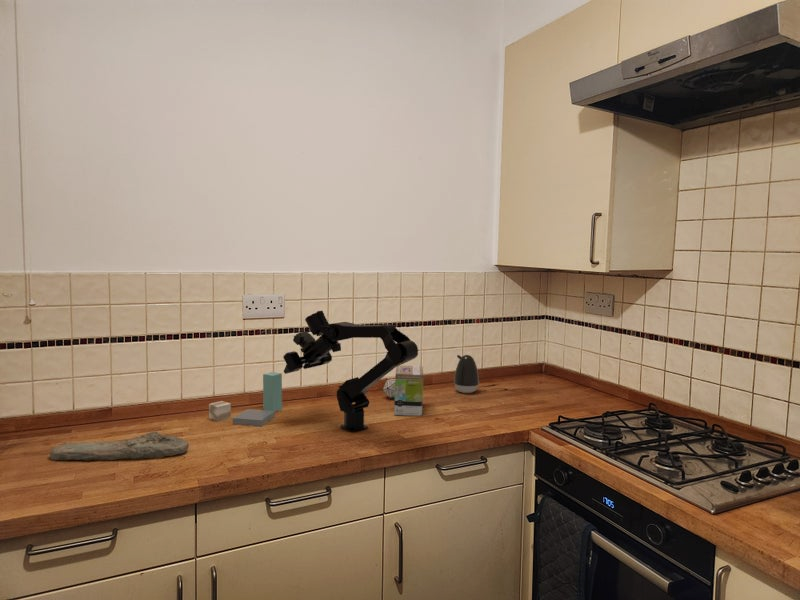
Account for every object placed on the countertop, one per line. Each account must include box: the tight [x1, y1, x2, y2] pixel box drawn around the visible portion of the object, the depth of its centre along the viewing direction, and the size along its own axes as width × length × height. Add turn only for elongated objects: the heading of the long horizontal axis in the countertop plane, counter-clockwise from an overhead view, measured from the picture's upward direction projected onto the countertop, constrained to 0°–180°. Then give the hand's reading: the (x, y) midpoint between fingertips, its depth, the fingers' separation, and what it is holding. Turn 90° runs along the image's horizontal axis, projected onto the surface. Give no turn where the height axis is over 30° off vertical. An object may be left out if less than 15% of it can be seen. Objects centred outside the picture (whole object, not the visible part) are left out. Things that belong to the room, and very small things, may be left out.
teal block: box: [262, 371, 283, 412], centre depth 186 cm, size 4×4×13 cm
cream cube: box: [208, 400, 232, 422], centre depth 176 cm, size 5×5×5 cm
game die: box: [380, 377, 395, 400], centre depth 204 cm, size 9×8×10 cm
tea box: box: [393, 365, 424, 417], centre depth 189 cm, size 15×10×15 cm
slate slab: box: [232, 408, 276, 427], centre depth 175 cm, size 10×10×2 cm
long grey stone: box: [49, 430, 190, 462], centre depth 144 cm, size 35×5×10 cm
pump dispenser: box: [453, 354, 480, 394], centre depth 215 cm, size 10×10×15 cm
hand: (294, 370), depth 182 cm, fingers open, 9 cm apart
